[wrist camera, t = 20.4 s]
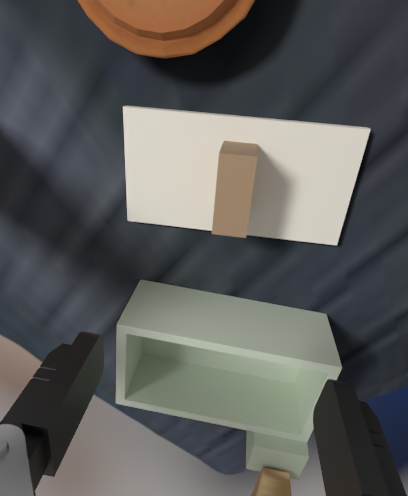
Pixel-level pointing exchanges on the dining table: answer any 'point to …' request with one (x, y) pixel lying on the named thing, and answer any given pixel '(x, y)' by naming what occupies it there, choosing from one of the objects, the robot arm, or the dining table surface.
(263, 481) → the tan tapered bar
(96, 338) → the robot arm
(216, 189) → the lid
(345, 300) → the dining table surface
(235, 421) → the light green open box
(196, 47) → the pie
